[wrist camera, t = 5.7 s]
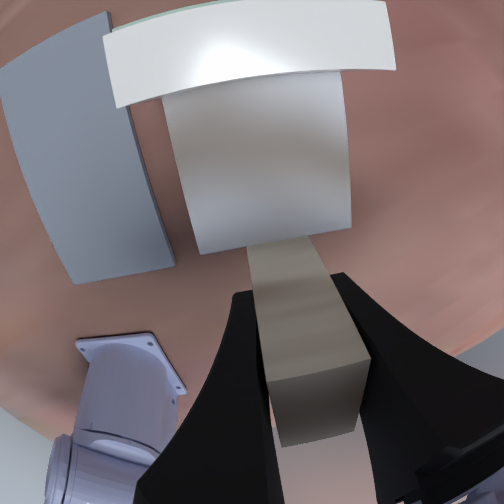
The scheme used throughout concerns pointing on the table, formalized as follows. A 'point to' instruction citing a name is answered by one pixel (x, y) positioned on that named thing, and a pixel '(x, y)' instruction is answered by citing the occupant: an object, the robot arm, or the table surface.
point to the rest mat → (83, 157)
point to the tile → (244, 44)
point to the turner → (279, 231)
